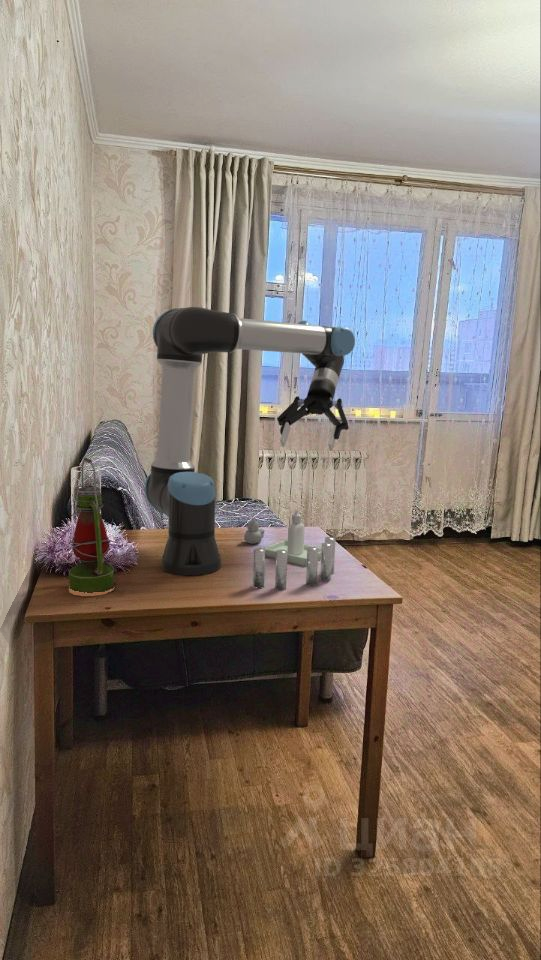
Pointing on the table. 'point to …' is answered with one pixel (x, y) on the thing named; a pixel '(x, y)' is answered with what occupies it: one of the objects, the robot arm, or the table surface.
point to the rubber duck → (253, 532)
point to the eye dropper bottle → (296, 535)
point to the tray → (295, 559)
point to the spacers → (311, 569)
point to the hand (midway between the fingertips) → (305, 445)
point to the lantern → (90, 543)
